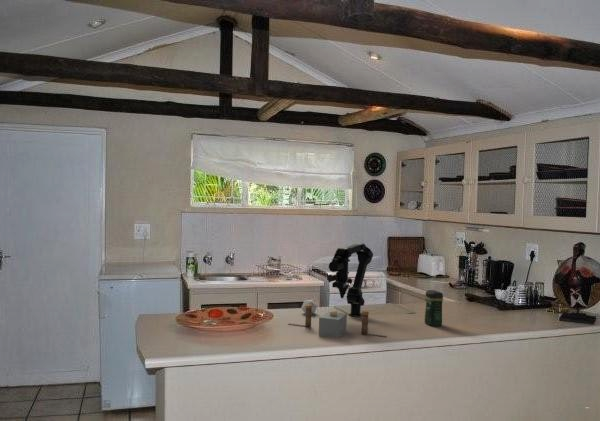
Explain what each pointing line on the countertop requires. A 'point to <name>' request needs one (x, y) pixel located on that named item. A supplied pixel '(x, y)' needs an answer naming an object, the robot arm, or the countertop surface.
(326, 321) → the gray block
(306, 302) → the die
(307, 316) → the brown l-shaped pieces
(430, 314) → the coffee jar
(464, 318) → the countertop surface
